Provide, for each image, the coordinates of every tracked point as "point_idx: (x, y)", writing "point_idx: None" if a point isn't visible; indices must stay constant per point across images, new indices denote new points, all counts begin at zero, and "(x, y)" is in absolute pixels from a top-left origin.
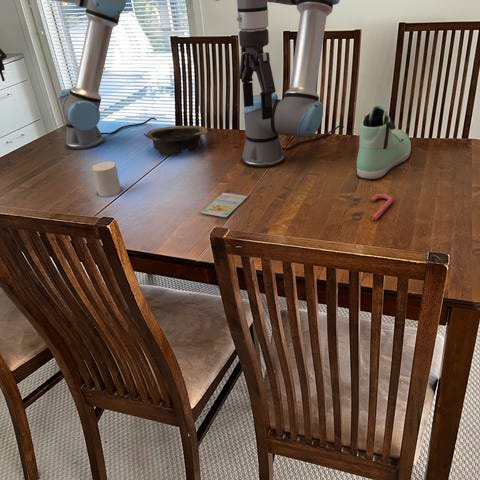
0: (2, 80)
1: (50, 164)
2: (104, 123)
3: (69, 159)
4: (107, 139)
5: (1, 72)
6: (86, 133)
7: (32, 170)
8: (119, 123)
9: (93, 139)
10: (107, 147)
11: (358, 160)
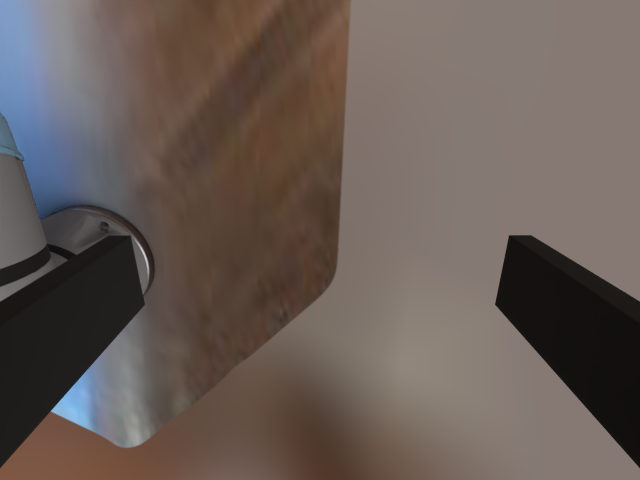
0: (125, 238)
1: (203, 130)
2: None
3: (142, 139)
4: None
5: (54, 273)
6: (47, 229)
7: (259, 108)
8: None
9: (47, 219)
10: None
11: None
